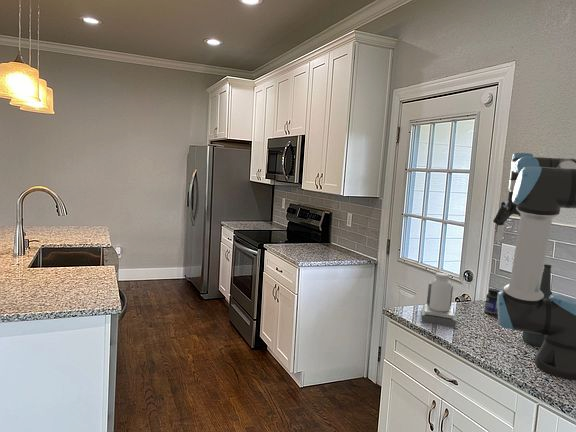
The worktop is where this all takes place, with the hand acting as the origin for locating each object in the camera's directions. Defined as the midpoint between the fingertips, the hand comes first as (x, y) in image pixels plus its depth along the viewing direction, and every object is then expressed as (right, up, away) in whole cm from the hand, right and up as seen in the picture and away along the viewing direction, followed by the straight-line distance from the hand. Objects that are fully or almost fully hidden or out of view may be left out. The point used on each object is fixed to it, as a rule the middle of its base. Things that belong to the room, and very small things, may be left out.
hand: (512, 243), depth 179 cm
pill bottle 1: (-29, -28, +4) cm, 40 cm away
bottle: (+2, -37, -15) cm, 40 cm away
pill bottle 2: (+1, -33, +20) cm, 39 cm away
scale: (-28, -32, +6) cm, 43 cm away
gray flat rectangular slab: (-29, -29, +5) cm, 41 cm away
